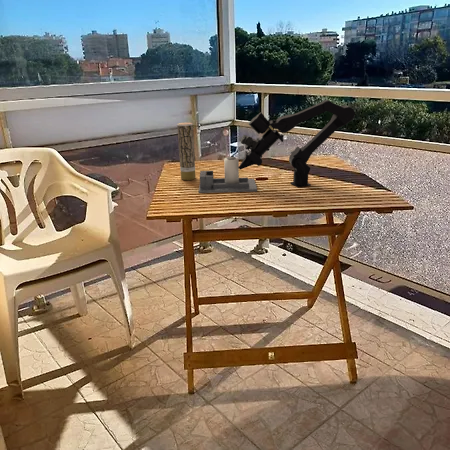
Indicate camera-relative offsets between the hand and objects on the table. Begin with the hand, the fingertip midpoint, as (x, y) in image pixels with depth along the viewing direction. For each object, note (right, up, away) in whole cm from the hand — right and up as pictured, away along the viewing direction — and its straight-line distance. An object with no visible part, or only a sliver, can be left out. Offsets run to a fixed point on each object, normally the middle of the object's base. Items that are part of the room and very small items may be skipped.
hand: (239, 168), depth 168 cm
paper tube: (-23, -3, +16) cm, 28 cm away
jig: (-5, -7, +3) cm, 9 cm away
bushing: (-3, -6, +3) cm, 7 cm away
